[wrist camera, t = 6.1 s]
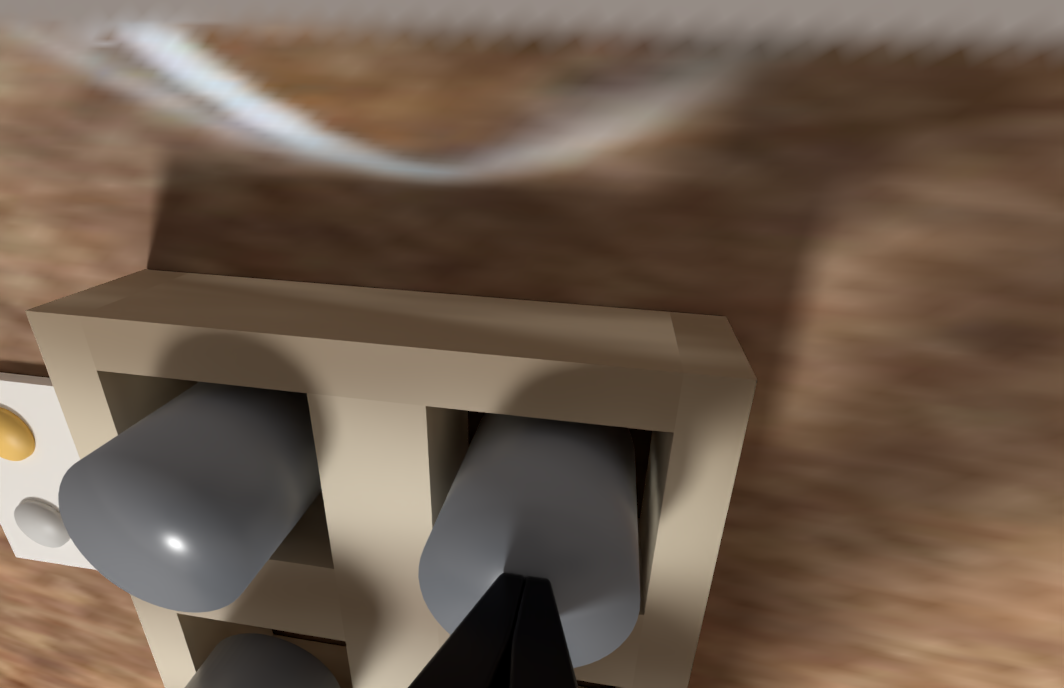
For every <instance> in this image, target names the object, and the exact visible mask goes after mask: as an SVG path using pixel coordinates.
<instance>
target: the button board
mask: <svg viewBox="0 0 1064 688" xmlns="http://www.w3.org/2000/svg"><path fill="white" fill-rule="evenodd" d="M25 312H26V314H27V317H28V320H29V323H30V325H31V328H32V331H33V333H34V336H35V339H36V341H37V344H38V347H39V350H40V352H41V355H42V358H43V360H44V363H45V366H46V368H47V371H48V374H49V376H50V379H51V382H52V385H53V387H54V390H55V393H56V395H57V398H58V401H59V403H60V406H61V409H62V412H63V414H64V417H65V420H66V422H67V425H68V428H69V430H70V433H71V436H72V438H73V441H74V444H75V447H76V449H77V452H78V455H79V457H80V460H81V459H82V458H84V457H85V456H87V455H88V454H90V453H91V452H93V451H95V450H96V449H98V448H99V447H101V446H102V445H104V444H105V443H107V442H108V441H110V440H111V439H113V438H114V437H116V436H117V435H119V434H120V433H122V432H123V431H125V430H127V429H128V428H130V427H131V426H133V425H134V424H136V423H137V422H139V421H140V420H142V419H143V418H145V417H146V416H148V415H149V414H151V413H152V412H154V411H156V410H157V409H159V408H160V407H162V406H163V405H165V404H166V403H168V402H169V401H171V400H172V399H174V398H175V397H177V396H178V395H180V394H181V393H183V392H184V391H186V390H188V389H189V388H191V387H192V386H194V385H195V384H197V383H198V382H208V383H218V384H227V385H236V386H245V387H255V388H264V389H273V390H282V391H292V392H301V393H307V398H308V404H309V411H310V417H311V424H312V430H313V436H314V443H315V449H316V456H317V462H318V468H319V475H320V481H321V488H322V491H321V493H320V494H319V495H318V496H317V498H316V499H315V500H314V502H313V503H312V504H311V505H310V507H309V508H308V509H307V511H306V512H305V513H304V514H303V516H302V517H301V518H300V520H299V521H298V522H297V523H296V525H295V526H294V527H293V529H292V530H291V531H290V532H289V534H288V535H287V536H286V538H285V539H284V540H283V541H282V543H281V544H280V545H279V547H278V548H277V549H276V550H275V552H274V553H273V554H272V556H271V557H270V558H269V560H268V561H267V562H266V563H265V565H264V566H263V567H262V569H261V570H260V571H259V572H258V574H257V575H256V576H255V578H254V579H253V580H252V581H251V583H250V584H249V585H248V587H247V588H246V589H245V590H244V592H243V593H242V594H241V595H240V596H239V597H238V598H237V599H236V600H235V601H234V602H232V603H231V604H229V605H228V606H226V607H223V608H221V609H218V610H214V611H210V612H201V613H191V612H181V611H175V610H170V609H166V608H163V607H159V606H156V605H153V604H151V603H148V602H146V601H143V600H141V599H139V598H137V597H135V596H133V595H131V594H130V595H131V598H132V600H133V603H134V606H135V608H136V611H137V614H138V616H139V619H140V622H141V624H142V627H143V630H144V633H145V635H146V638H147V641H148V643H149V646H150V649H151V651H152V654H153V657H154V660H155V662H156V665H157V668H158V670H159V673H160V676H161V678H162V681H163V684H164V686H165V688H185V687H186V685H187V684H188V683H189V681H190V680H191V679H192V677H193V676H194V675H195V673H196V672H197V671H198V669H199V668H200V667H201V665H202V664H203V663H204V661H205V660H206V659H207V657H208V656H209V655H210V653H211V652H212V651H213V649H214V648H215V647H216V645H217V644H218V643H219V642H220V641H222V640H224V639H225V638H227V637H230V636H233V635H237V634H245V633H256V634H264V635H269V636H274V637H277V638H280V639H283V640H286V641H288V642H291V643H293V644H295V645H297V646H299V647H301V648H303V649H304V650H306V651H308V652H309V653H311V654H312V655H313V656H315V657H316V658H317V659H319V660H320V661H321V662H322V663H323V664H324V665H325V666H326V667H327V668H328V669H329V670H330V671H331V673H332V674H333V675H334V677H335V678H336V680H337V682H338V684H339V686H340V688H408V687H409V685H410V684H411V683H412V682H413V680H414V679H415V678H416V677H417V675H418V674H419V673H420V672H421V671H422V669H423V668H424V667H425V666H426V664H427V663H428V662H429V661H430V660H431V658H432V657H433V656H434V655H435V653H436V652H437V651H438V650H439V649H440V647H441V646H442V645H443V644H444V642H445V641H446V640H447V639H448V638H449V636H450V634H449V633H448V632H447V631H446V630H445V629H444V628H443V627H442V626H441V625H440V624H439V623H438V621H437V620H436V619H435V618H434V616H433V615H432V613H431V612H430V610H429V609H428V607H427V605H426V603H425V601H424V599H423V596H422V592H421V589H420V584H419V578H418V573H419V562H420V557H421V554H422V552H423V549H424V547H425V544H426V542H427V540H428V538H429V535H430V533H431V531H432V529H433V526H434V524H435V522H436V520H437V517H438V515H439V513H440V511H441V509H442V506H443V504H444V502H445V500H446V497H447V495H448V493H449V491H450V488H451V486H452V484H453V482H454V479H455V477H456V475H457V473H458V470H459V468H460V466H461V464H462V461H463V459H464V457H465V455H466V453H467V450H468V448H469V442H468V411H477V412H486V413H495V414H505V415H514V416H523V417H532V418H542V419H551V420H560V421H569V422H579V423H588V424H597V425H607V426H616V427H625V428H634V429H644V430H653V431H652V438H651V445H650V452H649V458H648V465H647V472H646V479H645V486H644V493H643V500H642V507H641V514H640V518H637V522H638V549H639V576H640V611H639V615H638V619H637V622H636V624H635V626H634V628H633V631H632V632H631V633H630V635H629V636H628V638H627V639H626V640H625V641H624V642H623V643H622V644H621V645H620V646H619V647H618V648H617V649H616V650H614V651H613V652H612V653H610V654H609V655H607V656H605V657H603V658H602V659H600V660H598V661H595V662H593V663H590V664H587V665H584V666H580V667H576V668H573V669H574V672H575V676H576V680H580V681H586V682H592V683H598V684H604V685H610V686H616V687H615V688H688V683H689V679H690V674H691V670H692V665H693V661H694V657H695V652H696V648H697V643H698V639H699V635H700V630H701V626H702V621H703V617H704V613H705V608H706V604H707V599H708V595H709V591H710V586H711V582H712V577H713V573H714V569H715V564H716V560H717V555H718V551H719V547H720V542H721V538H722V533H723V529H724V524H725V520H726V516H727V511H728V507H729V502H730V498H731V494H732V489H733V485H734V480H735V476H736V472H737V467H738V463H739V458H740V454H741V450H742V445H743V441H744V436H745V432H746V428H747V423H748V419H749V414H750V410H751V405H752V401H753V397H754V392H755V388H756V383H757V378H756V376H755V374H754V372H753V370H752V368H751V366H750V364H749V362H748V360H747V358H746V356H745V354H744V352H743V350H742V348H741V346H740V344H739V342H738V340H737V338H736V336H735V334H734V331H733V329H732V327H731V325H730V323H729V321H728V319H727V317H726V316H714V315H702V314H690V313H677V312H665V311H653V310H640V309H628V308H616V307H603V306H591V305H579V304H566V303H554V302H542V301H529V300H517V299H505V298H492V297H480V296H468V295H455V294H443V293H431V292H418V291H406V290H394V289H381V288H369V287H357V286H344V285H332V284H320V283H307V282H295V281H283V280H270V279H258V278H246V277H233V276H221V275H209V274H196V273H184V272H172V271H159V270H147V269H144V270H142V271H139V272H136V273H133V274H130V275H127V276H124V277H121V278H118V279H116V280H113V281H110V282H107V283H104V284H101V285H98V286H95V287H92V288H89V289H87V290H84V291H81V292H78V293H75V294H72V295H69V296H66V297H63V298H60V299H58V300H55V301H52V302H49V303H46V304H43V305H40V306H37V307H34V308H32V309H29V310H26V311H25ZM272 629H275V630H281V631H287V632H293V633H299V634H305V635H311V636H316V637H322V638H328V639H334V640H340V641H346V647H344V646H339V645H333V644H327V643H321V642H315V641H309V640H303V639H297V638H291V637H285V636H279V635H273V632H272ZM578 688H588V687H582V686H578Z"/></svg>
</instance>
